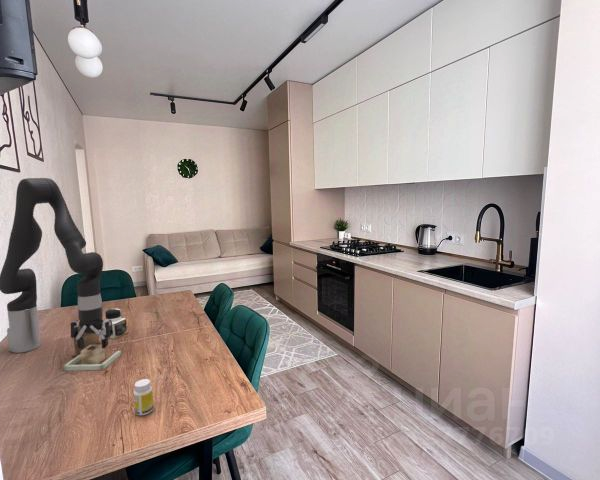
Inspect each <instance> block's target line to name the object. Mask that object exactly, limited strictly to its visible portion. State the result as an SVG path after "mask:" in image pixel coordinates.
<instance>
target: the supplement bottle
mask: <svg viewBox="0 0 600 480" xmlns="http://www.w3.org/2000/svg"><path fill="white" fill-rule="evenodd" d="M153 394H154V393H153V387H152V386H151V380H150V379H147V378H145V379H143V378H142V379H139V380H137V381H136V382H135V383H134V391H133V401H134V404H133V405H134V414H135V415H137V416H146V415H148V414H150V413H151V412H153V410H154V395H153Z"/></svg>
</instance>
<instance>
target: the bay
mask: <svg viewBox="0 0 600 480" xmlns="http://www.w3.org/2000/svg"><path fill="white" fill-rule="evenodd" d="M121 355H122V350H117V351H116V352H114V353H113V354H112V355H111V356H109V357H108V358H107V359H106V360H105V361H103V362H102V363H99V364H87V365H82V364H77V363H78V362H80V361H81V354H80V355H78V356H77V357H74V358H73V359H71V360H70V361H68V362H67V363H65V364H64V365H62V366H61V369H62V372H63V371H98V370H99V371H100V370H101V371H102V370H105V369H106V368H107V367H108V366H110V365H111V364H112V363H113V362H114V361H115V360H116V359H117V358H119V357H120V356H121Z"/></svg>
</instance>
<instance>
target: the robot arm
mask: <svg viewBox="0 0 600 480" xmlns="http://www.w3.org/2000/svg"><path fill="white" fill-rule="evenodd" d="M61 191H62V190H61V189H60V187H59V185H58V184H57V182H56V181H55V180H53V179H52V178H48V177H29V178H22V179H21V180H19V183H18V185H17V188H16V196H15V198H16V199H15V209H14V217H13V223H12V227H11V231H10V235H9V240H8V241H9V242H8V246H7V252H6V256H5V260H4V263H3V265H2V269H1V271H0V292H1V293H2V294H5V295H11V294H12V295H13V294H19V293H21V294H20V295H19V296H18V297H16V298H15V299H13V300H11V301H9V302H7V304H6V308H7V319H8V327H7V329H6V332H7V341H8V352H12V353H14V354H19V353H26V352H30V351H33V350H36V349H38V348H39V347H40V346H41V345H42V343H41V335H40V326H39V325H40V324H39V315H38V305H37V301H38V295H37V294H38V293H37V292H38V291H37V287H38V286H37V277H36V274H35V272H34V270H33V269H31V268H22V266H23V264H24V263H26V262H28V260H29V259H31V258H32V257H33V255H35V254H36V252H38V251H39V248H40V246H41V242H42V238H43V230H42V228H41V226H40V224H39V223H38V222H37V221H36V218H35V217H34V212H35V211H34V210H35V207H36V206H37V204H40V205H41V204H49V206H50V207H51V208H52V210H53V212H54V223H53V227H54V229H53V230H54V234H55V236H56V238H57V239H58V241H59V242H60V244H61V246H62V247H63V249H64V251H65V256H66V259H67V262H68V266H69V268H70V270H71V271H72V272H74V273H76V274H79V275H83V274H84V276H83V278H81V279H79V280H78V281H77V283H76V285H77V286H76V289H77V313H78V320H79V321H78V320H76V319H75V320H74V321H73V322H71V323H70V338H72V339H74V338H76V339H77V346H78V347H79V349H82V348H83V347H84V337H83V336H84V334H85V333H96V334H97V335H99V338H101V339H100V340H101V341H100V342H102V349H106V348H108V346H109V339H110V338H109V337H110V336H112V335H113V328H112V321H111V320H109V321H106V320H103V316H104V315H103V302H102V301H103V300H102V296H101V286H100V285H101V284H100V282H101V279H102V278H101V277H102V274H103V269H104V260H103V258H102V255H100V254H99V253H97V251H96V252H93V251H91V252H87V253H84V252H83V250H82V249H84V248H85V247H86V246H87V242H86V239H85V237H84V236H83V234H82V232H81V231H80V230H79V228H78V227H77V225H76V224H75V221H74V220H73V218H72V215H71V213H70V210H69V209H68V206H67V203H66V201H65V198H64V196H63V194H62V192H61ZM20 268H21V269H20ZM103 325H104V327H105V329H106V331H105V329H104V328H103V327H102V326H103ZM79 326H80V327H81V328H82V329H81V331H80V332H79V333H78V327H79Z"/></svg>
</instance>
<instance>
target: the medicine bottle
mask: <svg viewBox="0 0 600 480" xmlns="http://www.w3.org/2000/svg"><path fill="white" fill-rule="evenodd" d="M109 320H111V321H112V328H113V335H112V336H110V337H109V338H108V339H112V340H113V339H115V340H116V339H118V338H120V337H121V336H123V335H125V334H127V333H128V329H127V328H128V327H127V319H126V318H125V317H122V311H121V309H120V308H110V309H108V310H106V311H105V321H109ZM102 327H103V328H104V329H105V327H104V325H103V326H102ZM105 331H106V329H105Z"/></svg>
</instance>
